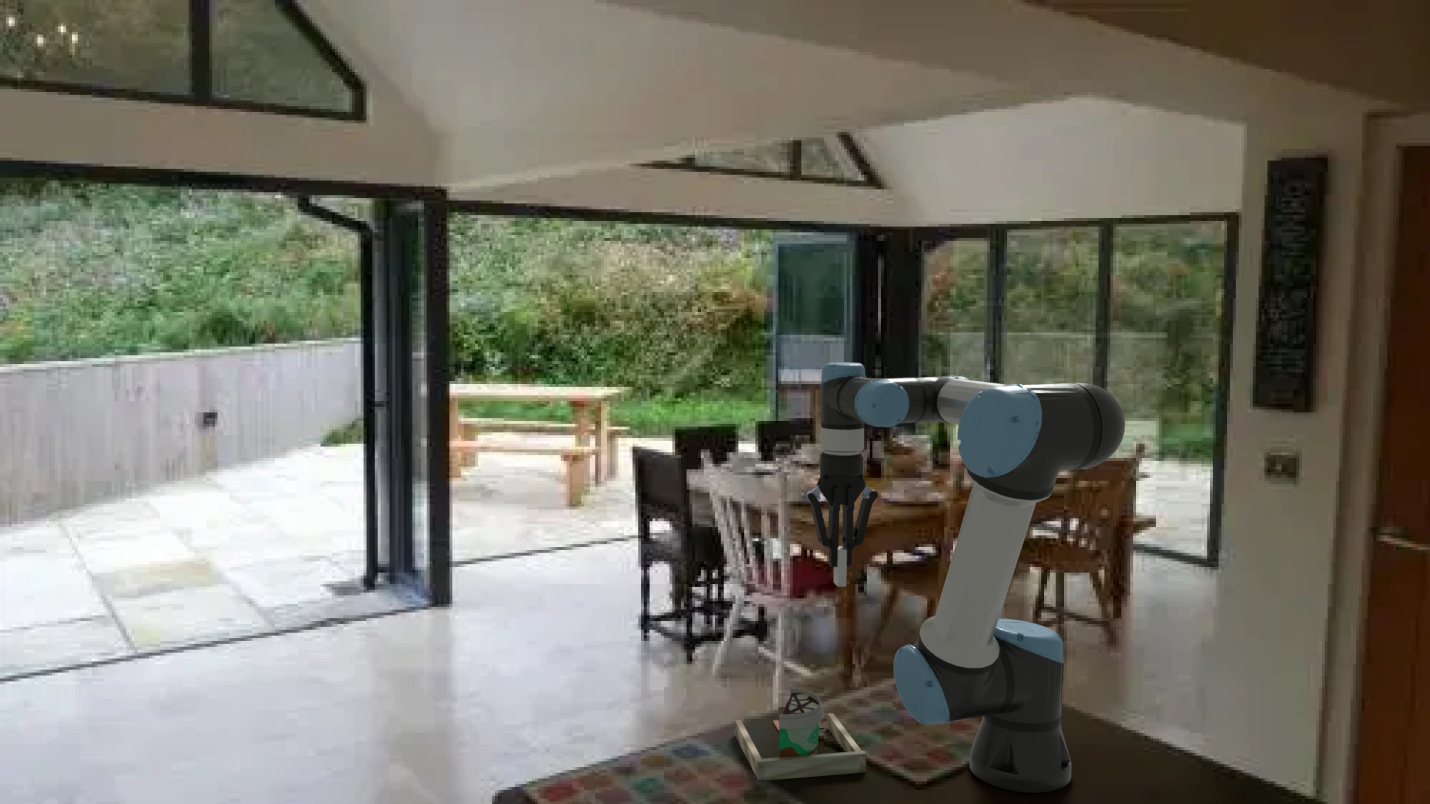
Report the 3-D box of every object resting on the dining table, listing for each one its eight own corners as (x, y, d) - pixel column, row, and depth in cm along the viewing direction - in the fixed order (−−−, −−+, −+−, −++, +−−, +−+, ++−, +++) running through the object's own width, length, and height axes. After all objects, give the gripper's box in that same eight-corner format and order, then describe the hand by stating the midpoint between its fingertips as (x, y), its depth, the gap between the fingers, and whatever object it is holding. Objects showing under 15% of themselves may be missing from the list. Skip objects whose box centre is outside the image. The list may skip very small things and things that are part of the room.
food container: (818, 783, 166) (819, 719, 164) (778, 779, 167) (778, 715, 166) (828, 749, 178) (829, 690, 176) (790, 746, 179) (791, 686, 178)
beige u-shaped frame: (865, 772, 169) (866, 753, 169) (758, 781, 166) (758, 762, 166) (832, 727, 186) (833, 710, 186) (734, 734, 183) (734, 717, 183)
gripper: (870, 447, 195) (868, 577, 198) (799, 449, 193) (798, 580, 195) (885, 453, 188) (882, 588, 190) (811, 455, 186) (809, 592, 188)
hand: (839, 584), depth 193 cm, fingers closed
